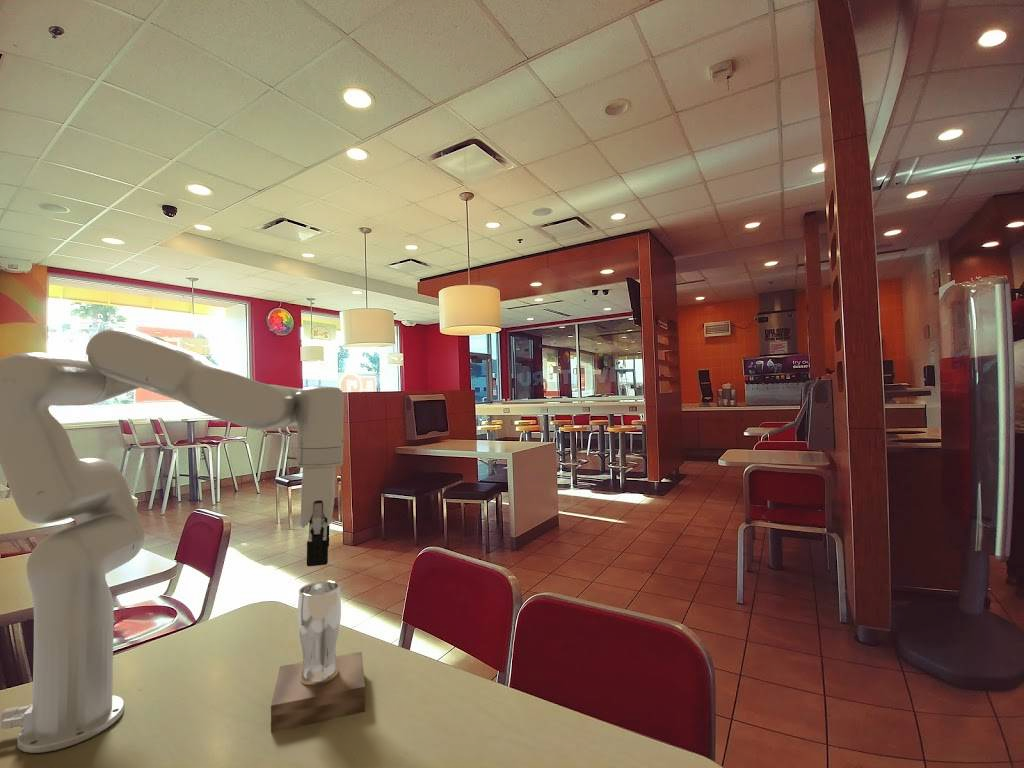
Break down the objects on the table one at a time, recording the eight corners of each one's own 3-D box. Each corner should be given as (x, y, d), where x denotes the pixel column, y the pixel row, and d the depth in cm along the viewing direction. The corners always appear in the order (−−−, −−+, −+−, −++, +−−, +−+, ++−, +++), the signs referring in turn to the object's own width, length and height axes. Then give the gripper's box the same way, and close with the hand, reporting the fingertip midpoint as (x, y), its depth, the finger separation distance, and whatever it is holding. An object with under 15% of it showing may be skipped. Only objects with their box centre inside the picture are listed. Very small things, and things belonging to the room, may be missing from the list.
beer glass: (347, 665, 86) (347, 580, 87) (329, 688, 79) (329, 596, 80) (310, 664, 87) (310, 579, 87) (289, 687, 80) (289, 595, 80)
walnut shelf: (270, 732, 75) (271, 705, 75) (280, 689, 86) (280, 666, 86) (365, 711, 80) (364, 686, 80) (361, 673, 91) (361, 651, 91)
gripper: (300, 453, 91) (299, 544, 91) (292, 464, 75) (289, 575, 74) (342, 451, 94) (341, 540, 93) (343, 462, 78) (341, 570, 77)
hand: (318, 556), depth 84 cm, fingers open, 9 cm apart
